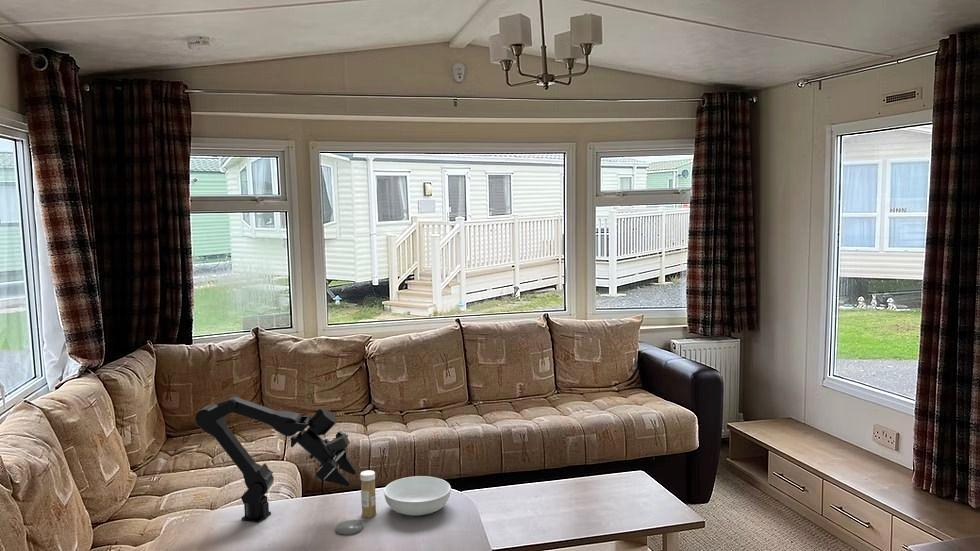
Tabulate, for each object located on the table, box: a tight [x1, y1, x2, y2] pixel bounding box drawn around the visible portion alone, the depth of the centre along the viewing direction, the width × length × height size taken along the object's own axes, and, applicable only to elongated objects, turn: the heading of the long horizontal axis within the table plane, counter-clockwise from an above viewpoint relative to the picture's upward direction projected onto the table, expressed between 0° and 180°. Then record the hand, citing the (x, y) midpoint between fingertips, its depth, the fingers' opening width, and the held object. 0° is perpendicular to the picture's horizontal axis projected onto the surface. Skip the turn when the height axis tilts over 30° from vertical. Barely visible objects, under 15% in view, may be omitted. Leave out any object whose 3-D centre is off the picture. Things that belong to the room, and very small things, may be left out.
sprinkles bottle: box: [359, 469, 377, 518], centre depth 207 cm, size 5×5×14 cm
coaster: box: [335, 519, 365, 536], centre depth 198 cm, size 8×8×1 cm
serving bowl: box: [383, 475, 452, 516], centre depth 211 cm, size 21×21×7 cm
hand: (352, 479), depth 206 cm, fingers open, 9 cm apart
